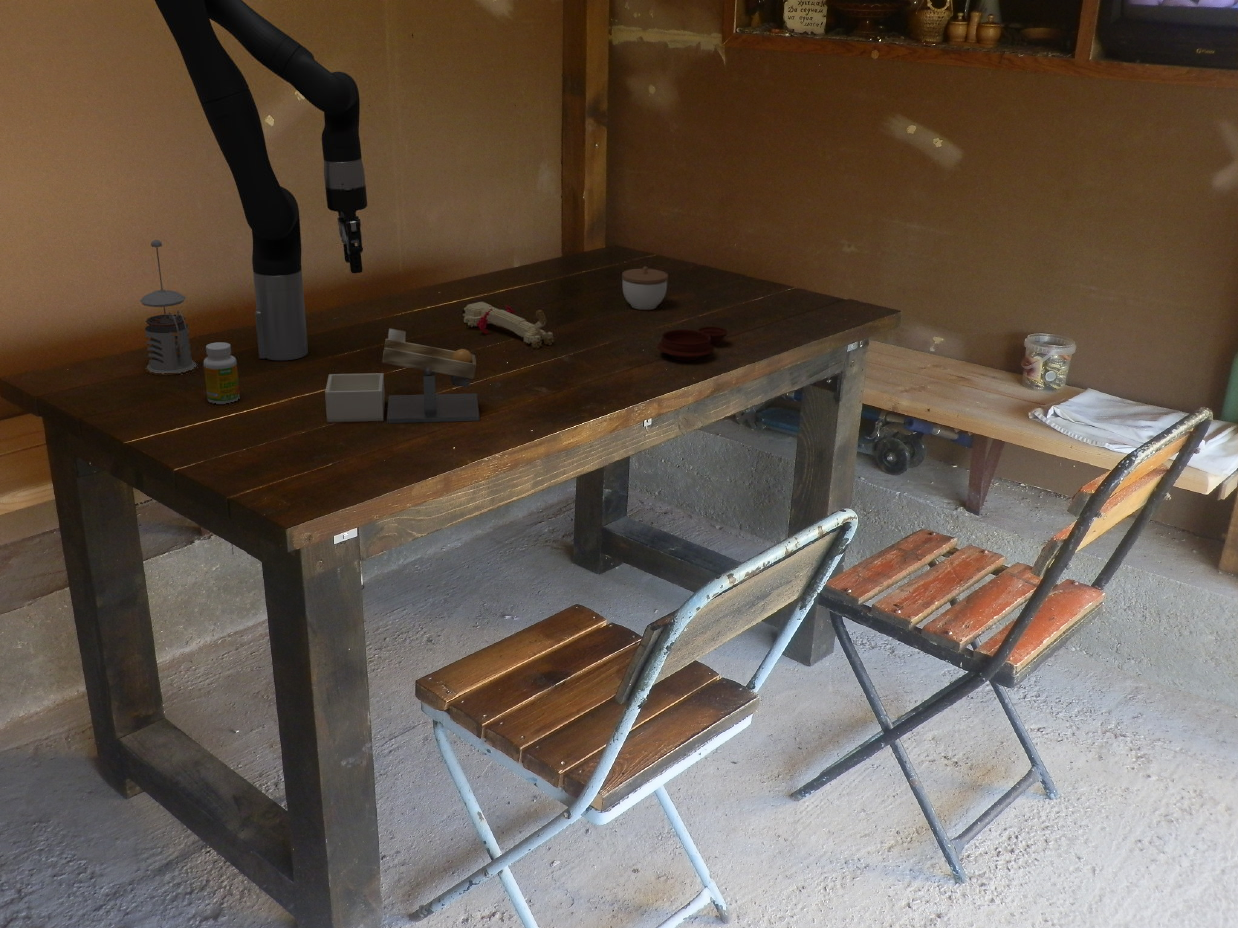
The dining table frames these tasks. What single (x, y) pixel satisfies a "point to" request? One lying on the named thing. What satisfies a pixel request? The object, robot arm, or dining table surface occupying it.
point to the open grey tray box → (355, 397)
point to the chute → (427, 358)
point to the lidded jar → (644, 287)
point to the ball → (462, 356)
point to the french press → (167, 332)
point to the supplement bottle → (221, 374)
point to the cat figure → (508, 322)
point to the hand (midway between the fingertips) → (353, 267)
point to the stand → (432, 406)
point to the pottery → (691, 342)
